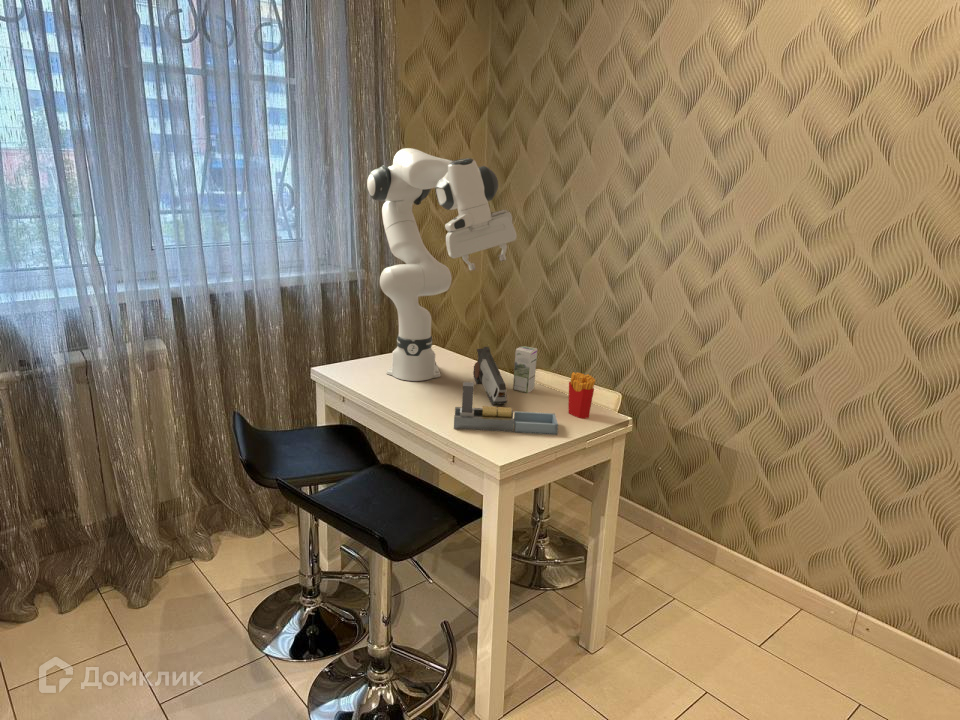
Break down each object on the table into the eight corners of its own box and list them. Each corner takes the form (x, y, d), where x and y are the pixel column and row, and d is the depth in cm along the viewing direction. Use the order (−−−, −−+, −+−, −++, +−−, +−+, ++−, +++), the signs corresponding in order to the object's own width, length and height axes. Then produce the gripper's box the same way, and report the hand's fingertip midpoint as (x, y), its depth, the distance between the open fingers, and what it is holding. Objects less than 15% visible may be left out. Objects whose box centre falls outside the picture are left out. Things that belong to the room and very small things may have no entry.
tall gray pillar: (459, 417, 201) (461, 381, 198) (473, 417, 202) (475, 382, 198) (459, 422, 198) (461, 385, 195) (473, 422, 198) (475, 386, 195)
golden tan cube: (482, 418, 202) (482, 406, 200) (495, 419, 202) (496, 406, 201) (481, 424, 198) (482, 411, 197) (495, 424, 198) (496, 411, 197)
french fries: (563, 411, 214) (567, 371, 211) (573, 408, 217) (577, 369, 213) (584, 420, 208) (589, 380, 204) (594, 418, 210) (599, 377, 206)
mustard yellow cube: (496, 419, 202) (497, 406, 201) (510, 420, 202) (511, 407, 201) (496, 424, 198) (497, 411, 197) (510, 425, 198) (511, 412, 197)
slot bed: (454, 417, 204) (455, 406, 203) (512, 421, 204) (512, 409, 203) (453, 428, 196) (454, 417, 195) (513, 431, 196) (514, 420, 195)
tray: (513, 420, 204) (514, 411, 204) (554, 422, 205) (554, 413, 204) (515, 432, 196) (515, 422, 195) (557, 434, 196) (558, 424, 195)
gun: (489, 423, 218) (495, 384, 210) (469, 374, 240) (474, 337, 232) (504, 422, 219) (511, 384, 211) (483, 373, 241) (488, 337, 233)
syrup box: (534, 389, 234) (538, 347, 229) (527, 393, 228) (531, 351, 224) (519, 385, 236) (522, 344, 232) (512, 390, 231) (515, 348, 227)
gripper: (505, 208, 198) (517, 254, 202) (439, 227, 194) (452, 274, 197) (513, 207, 192) (525, 255, 196) (444, 226, 188) (458, 275, 191)
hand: (488, 265), depth 196 cm, fingers open, 8 cm apart
